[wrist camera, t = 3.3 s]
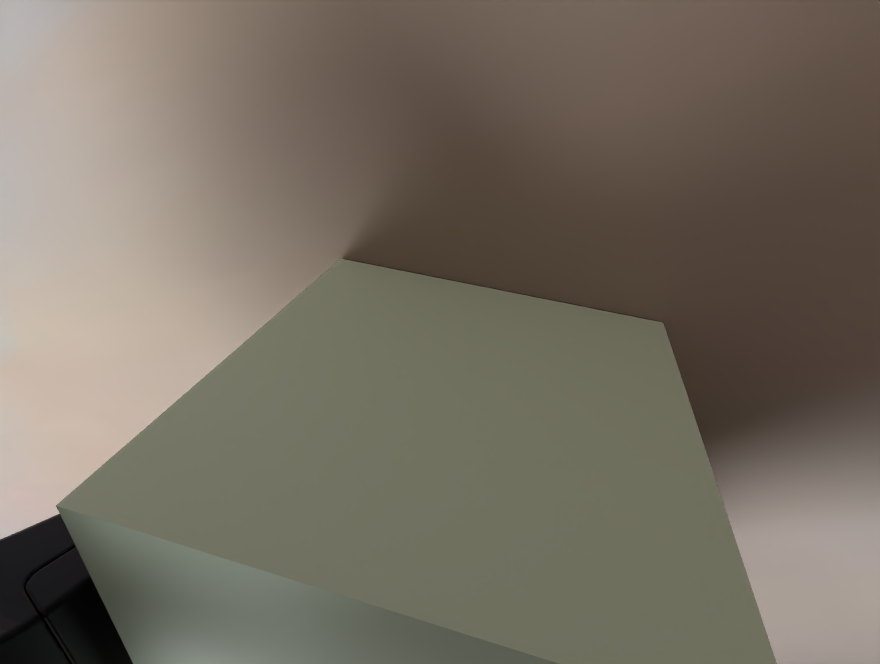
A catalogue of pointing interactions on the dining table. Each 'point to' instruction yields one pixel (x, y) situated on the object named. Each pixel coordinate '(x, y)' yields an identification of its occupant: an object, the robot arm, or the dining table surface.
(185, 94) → the dining table surface
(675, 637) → the sage block
